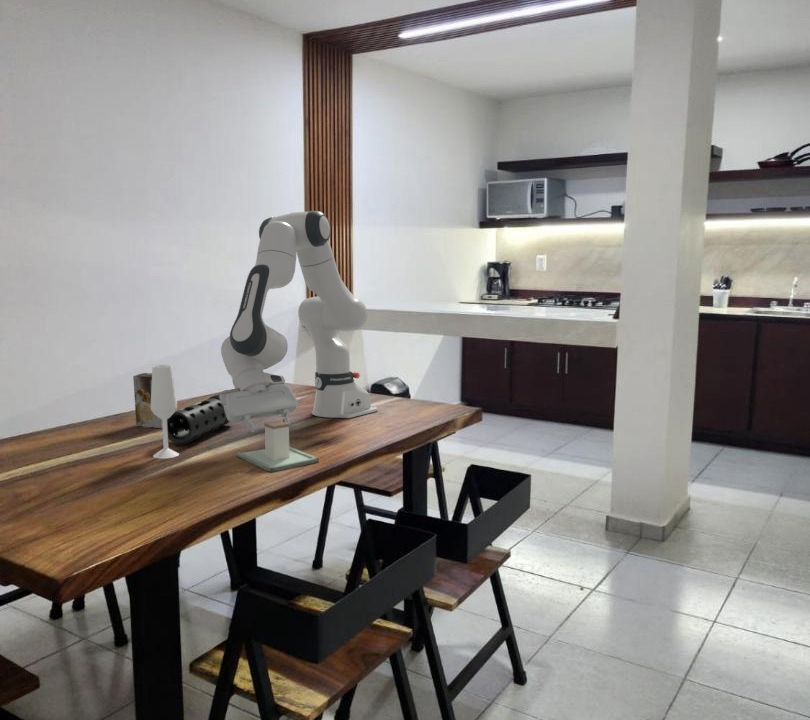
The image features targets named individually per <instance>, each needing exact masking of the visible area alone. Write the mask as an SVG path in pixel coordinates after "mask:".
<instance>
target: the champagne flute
mask: <svg viewBox="0 0 810 720" xmlns="http://www.w3.org/2000/svg"><path fill="white" fill-rule="evenodd" d="M151 368H152V371H151V373H152V388H151V410H152V412H153V413H154V414H155V415H156V416H157V417H158V418H160V419H162V425H163V428H162V443H163V448H162V449H160V450H159V451H157V452H156V453H154V454H153V455H152V457H153V458H155V459H164V460H165V459H172V458H175V457H178V456H179V455H180V453H179V452H177V451H176V450H173V449H172V448H170V447H169V439H168V432H167V419H168V418H170V417H171V416H172V415H173V414H174V412H175V411H177V409H178V402H177V393H176V387H175V381H174V373H173V366H172V364H156V365H153V366H152V367H151Z"/></svg>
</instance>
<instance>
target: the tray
mask: <svg viewBox="0 0 810 720" xmlns="http://www.w3.org/2000/svg"><path fill="white" fill-rule="evenodd" d="M237 456H238V457H237ZM236 457H237V458H239V457H240V459H241V458H242V460H244V461H245V462H247V463H250V464H252V465H254V466H257V467H259V468H261V469H263V470H265V471H267V472H269V473H273V472H274V473H275V472H279V471H282V470H287V469H293V468H297V467H302V466H306V465H311V463H312V464H315V463H314V462H316V463H319V461H320V458H319V457H316V456H314V455H312V454H309V453H307V452H304V451H302V450H299V449H297V448H294V447H291V446H289V457H288V458H283V459H278V460H272V459H270V458H268V457H266V452H265V448H262V449H257V450H252V451H247V452H242V451H239V452H236Z"/></svg>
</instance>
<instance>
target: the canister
mask: <svg viewBox="0 0 810 720" xmlns="http://www.w3.org/2000/svg"><path fill="white" fill-rule="evenodd" d="M263 424H264V425H263V426H264V441H265V442H264V445H265V447H264V449H265V452H266V457H268V458H270V459H272V460H278V459H283V458H288V457H289V447H290V425H289V423H286V422H283V420H281V419H279V420H275V421H268V422H264V423H263Z"/></svg>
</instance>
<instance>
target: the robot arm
mask: <svg viewBox="0 0 810 720" xmlns="http://www.w3.org/2000/svg"><path fill="white" fill-rule="evenodd" d="M330 223H331V222H330V221H329V219H328V217H327V216H326V214H324V213H323V212H322V211H319V210H309V211H295V212H294V211H293V212H290V213H286V214H282V215H278V216H271V217H267V218H266V219H263V221H262V223H261V224H260V226H259V229H258V237H259V243H258V248H257V253H256V261H255V265H254V266H253V267H252V268H251V270H250V271H249V273H248V275H247V279H246V281H245V285H244V289H243V292H242V293H243V294H242V297H241V301H240V304H239V305H240V306H239V309H238V312H237V316H236V318H235V320H234V322H233V324H232V327H231V328H230V333H229V335H228V337H227V338H225V339H224V341H222V343H221V347H220V355H221V357H222V362H223V364H224V367H225V369H226V371H227V373H228V375H230V377H231V379H232V384H233V386H234V388H233V389H232V388H231V389H225V390H222V392H220V393H219V394H220V395H219V398H220V400H221V403H222V404H223V406H224V411H225V414H226V417H227V420H228V421H230V423H238V422H242V424H243V425H245V426H246V427H247V428H248V429H250V430H249V431H250V432H251V434H254V433H255V434H256V433H258V432H259V430H260V428H259V425H258V423H254V422H253V421H251V420H255V419H256V420H257V419H261V418H262V419H263V418H267V417H273V416H279V415H281V417H282V418H283V419H282V421H283V422H286V423H289V426H290V425H291V421H290V419H289V417H290V414H291V413H294V412H295V410H296V409H297V407H298V404H299V402H298V399H297V397H296V395H295V393H294V392H293V390H292V388H291V387H290V386H289V384H287V383H286V378H285V376H283V375H278V374H272V373H269V372H266V371H265V372H264V370H267V369H269V368H271V367H272V366H275V365H277V364H279V363H280V362H281V361H283V359H284V358H285V356H286V355H287V352H288V341H287V338H286V337H285V336H284V335H283V334H282V333H279V331H277V330H275V329H274V328H272V327H270V326H268V325H267V324H266V323H265V321H264V319H263V311H264V309H265V308H264V307H265V305H266V298H267V295H268V292H269V291H270V290H275V289H282V288H284V287H286V286H287V285H289V284H290V283H291V282H292V281H293V279H294V275H295V273H296V272H295V271H296V265H297V264H296V263H297V259H298V263H299V266H300V270H301V273H302V277H303V279H304V282H305V285H306V287H307V288H308V289H309V290H310V291H311V292H313V293H314V294H315V295H316V296H312V297H308V298H305V299H303V300H302V301H301V303H300V304H299V306H298V311H297V312H298V318H299V322H300V323H301V324H302V325H304V326H305V328H306V329H307V331H308V333H309V334H310V336H311V340H312V341H313V345H314V350H315V362H316V363H315V366H316V370H315V372H314V373H315V374H314V384H315V385H314V386H315V398H314V403H313V407H312V408H313V409H312V412H311V414H312V415H314V416H315V417H322V418H332V419H333V418H341V419H351V418H354V417H359V416H362V415H366V414H371V413H374V412H378V410H379V409H378V407H377V406H375V405H373V404H372V402H371V401H372V400H371V396H370V394H369V392H368V391H367V390H366V389H365V388H364V387H362V386H360V385H359V384H358V383H357V382H355V379H360V377H361V374H360V372H356V371H354V372H353V371H351V367H350V363H351V361H350V360H351V359H350V349H349V346H348V345H347V344H346V343H344V341H343V340H342V339H341V337H340V335H339V332H346V333H347V332H354V331H358V330H361V329H362V328H363V327H364V326H365V324H366V323H367V319H368V309H367V306H366V305H365V303H363V301H361V300H359V299H358V298H357V297H356V296H355V295H354V294H353V293H352V292H351V291H350V290H349V289H348V287H347V285H346V284H345V283H344V281H343V280H342V277H341V276H340V275H341V274H340V273H339V270H338V266H337V263H336V259H335V257H334V253H333V250H332V246H331V245H330V242H329V240H330V238H331V237H330V236H331V230H332V229H331V224H330Z"/></svg>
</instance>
